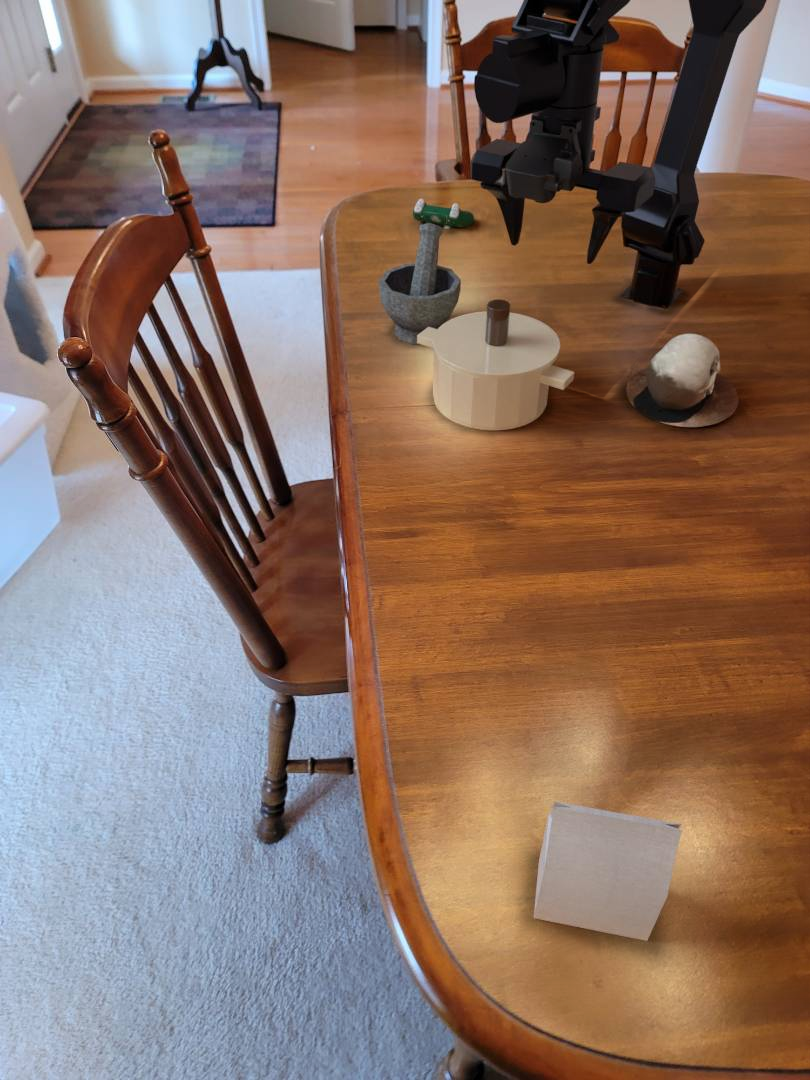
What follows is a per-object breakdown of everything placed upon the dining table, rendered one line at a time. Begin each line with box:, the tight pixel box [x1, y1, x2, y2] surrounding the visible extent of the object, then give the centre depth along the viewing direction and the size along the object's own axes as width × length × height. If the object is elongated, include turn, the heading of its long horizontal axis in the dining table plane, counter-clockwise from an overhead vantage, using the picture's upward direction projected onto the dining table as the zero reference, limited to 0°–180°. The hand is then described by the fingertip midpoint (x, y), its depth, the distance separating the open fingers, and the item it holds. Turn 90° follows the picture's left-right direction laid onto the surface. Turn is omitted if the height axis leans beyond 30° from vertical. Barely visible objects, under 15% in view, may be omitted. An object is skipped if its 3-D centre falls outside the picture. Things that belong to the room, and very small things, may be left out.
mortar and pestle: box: [378, 223, 462, 345], centre depth 101 cm, size 11×9×12 cm
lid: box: [432, 299, 561, 379], centre depth 88 cm, size 14×14×5 cm
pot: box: [417, 327, 575, 431], centre depth 91 cm, size 13×18×6 cm
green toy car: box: [412, 198, 475, 230], centre depth 128 cm, size 9×4×6 cm
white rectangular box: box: [533, 801, 683, 942], centre depth 48 cm, size 4×7×10 cm, turn 78°
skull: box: [625, 333, 740, 428], centre depth 92 cm, size 12×10×10 cm
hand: (551, 253), depth 93 cm, fingers open, 9 cm apart
